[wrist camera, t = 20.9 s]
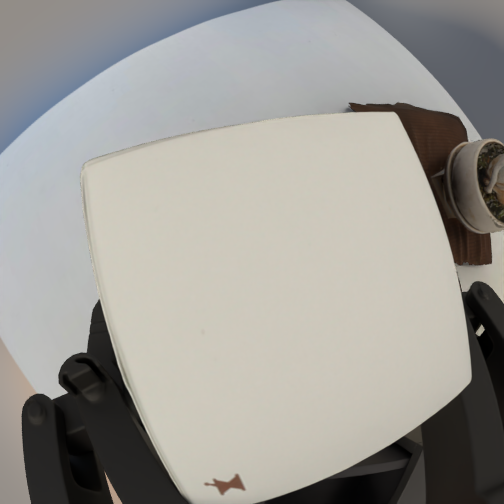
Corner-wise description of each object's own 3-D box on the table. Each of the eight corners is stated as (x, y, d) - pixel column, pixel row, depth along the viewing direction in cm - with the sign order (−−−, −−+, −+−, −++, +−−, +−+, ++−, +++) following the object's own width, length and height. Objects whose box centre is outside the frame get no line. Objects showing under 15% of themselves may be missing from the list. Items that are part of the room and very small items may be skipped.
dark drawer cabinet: (312, 509, 18) (352, 567, 9) (353, 405, 21) (424, 447, 11) (416, 488, 20) (464, 520, 11) (453, 399, 23) (515, 416, 13)
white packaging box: (312, 338, 17) (477, 390, 5) (197, 374, 16) (185, 526, 3) (280, 225, 18) (403, 105, 6) (162, 255, 16) (67, 158, 4)
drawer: (156, 500, 16) (146, 559, 8) (172, 392, 18) (158, 443, 10) (347, 506, 18) (384, 548, 10) (386, 413, 20) (443, 443, 13)
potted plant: (478, 260, 29) (631, 280, 4) (353, 276, 30) (532, 362, 5) (456, 116, 28) (574, 36, 3) (332, 105, 29) (405, -69, 4)
